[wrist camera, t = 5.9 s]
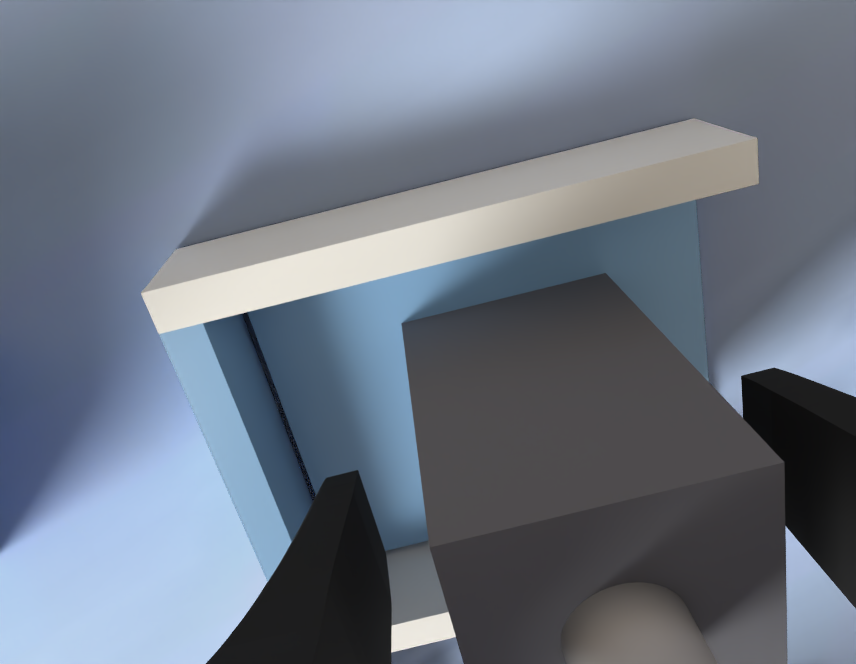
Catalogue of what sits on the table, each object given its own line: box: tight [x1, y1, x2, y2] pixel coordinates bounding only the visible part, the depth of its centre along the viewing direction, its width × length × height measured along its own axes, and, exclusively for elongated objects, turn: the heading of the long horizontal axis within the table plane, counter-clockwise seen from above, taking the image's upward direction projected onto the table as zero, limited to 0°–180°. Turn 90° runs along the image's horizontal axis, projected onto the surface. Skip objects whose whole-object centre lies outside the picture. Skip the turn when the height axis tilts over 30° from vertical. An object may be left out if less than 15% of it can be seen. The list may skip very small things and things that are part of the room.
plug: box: [401, 273, 787, 664], centre depth 12 cm, size 4×4×8 cm
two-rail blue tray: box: [141, 118, 759, 653], centre depth 17 cm, size 18×11×2 cm, turn 13°
